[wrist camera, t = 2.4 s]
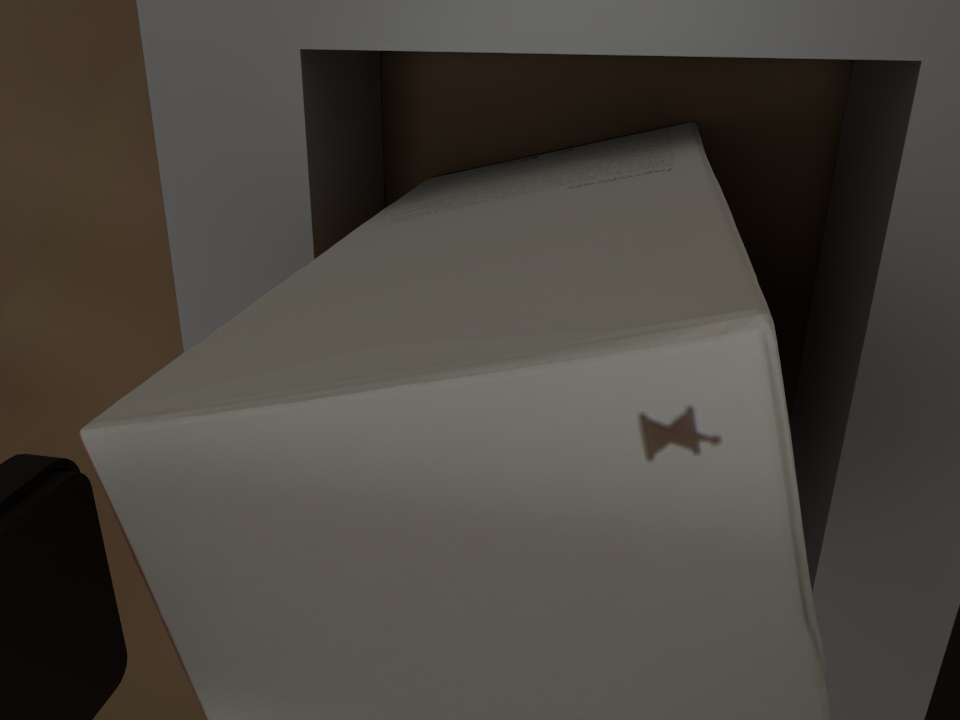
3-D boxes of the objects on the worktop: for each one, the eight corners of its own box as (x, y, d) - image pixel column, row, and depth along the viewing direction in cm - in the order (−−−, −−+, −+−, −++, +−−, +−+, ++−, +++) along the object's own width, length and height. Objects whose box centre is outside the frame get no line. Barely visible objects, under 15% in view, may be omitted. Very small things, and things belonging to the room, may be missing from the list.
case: (1061, -122, 15) (1217, -179, 11) (777, 1027, 28) (799, 1200, 24) (241, -108, 18) (116, -148, 13) (331, 930, 30) (281, 1069, 26)
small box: (422, 176, 19) (48, 416, 7) (699, 114, 17) (796, 299, 6) (499, 476, 22) (317, 1010, 10) (746, 448, 20) (880, 1050, 8)
